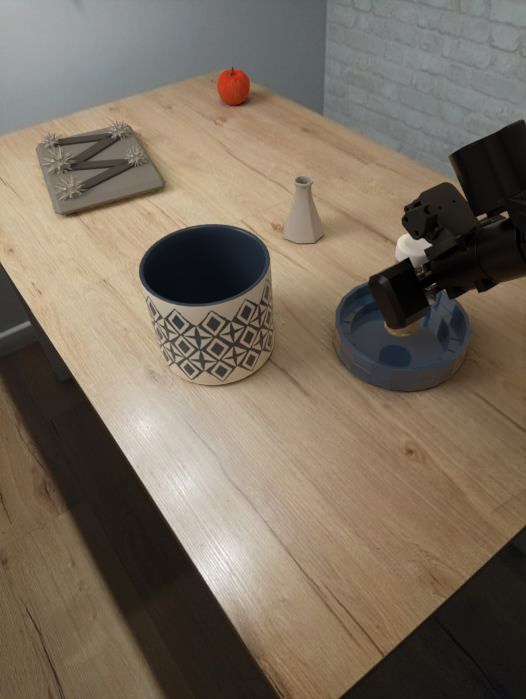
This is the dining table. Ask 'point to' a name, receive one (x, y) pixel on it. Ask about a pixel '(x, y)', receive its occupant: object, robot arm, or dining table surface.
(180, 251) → the planter
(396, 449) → the dining table surface
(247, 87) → the apple
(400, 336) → the sprinkles bottle
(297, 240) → the flask
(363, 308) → the bowl
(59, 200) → the decorative plate
